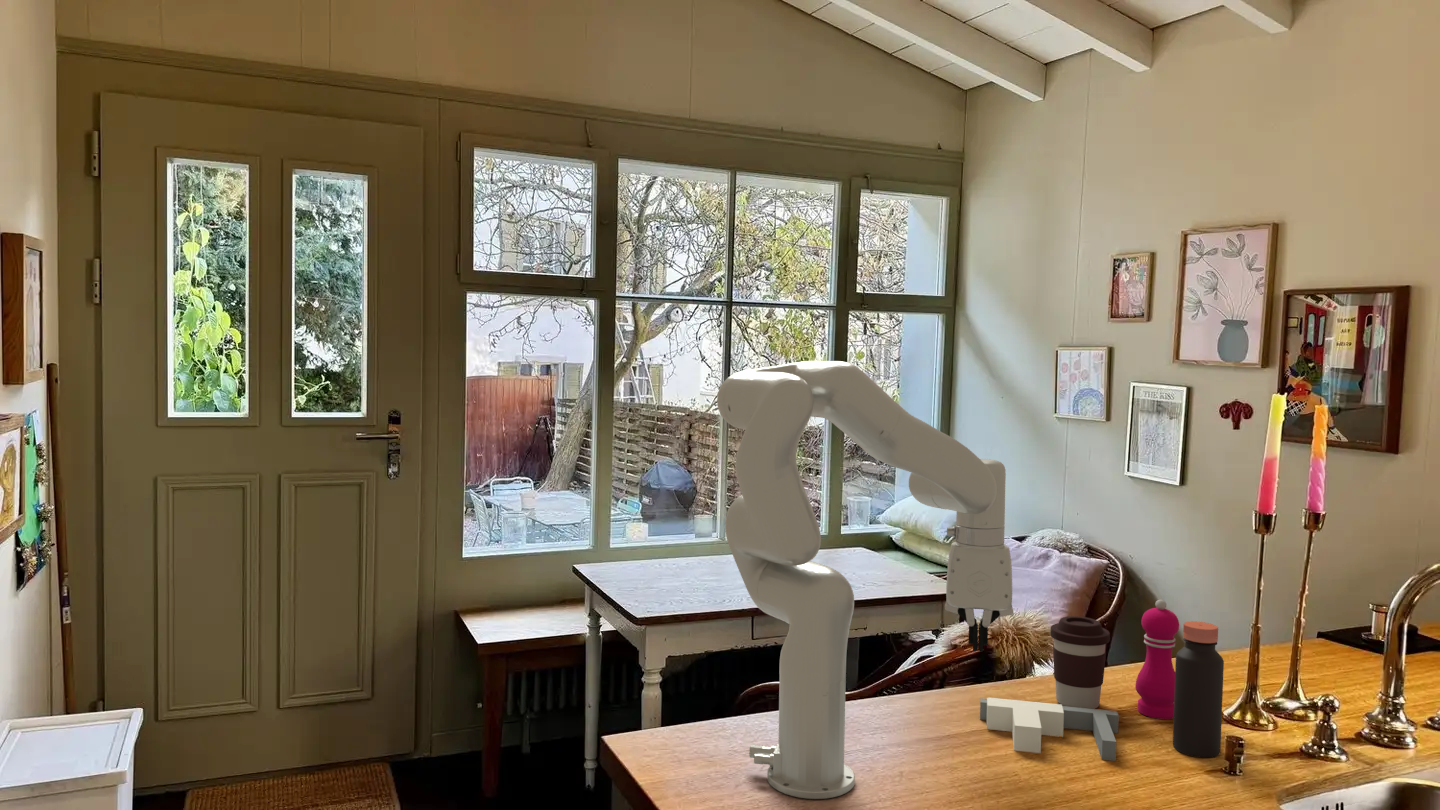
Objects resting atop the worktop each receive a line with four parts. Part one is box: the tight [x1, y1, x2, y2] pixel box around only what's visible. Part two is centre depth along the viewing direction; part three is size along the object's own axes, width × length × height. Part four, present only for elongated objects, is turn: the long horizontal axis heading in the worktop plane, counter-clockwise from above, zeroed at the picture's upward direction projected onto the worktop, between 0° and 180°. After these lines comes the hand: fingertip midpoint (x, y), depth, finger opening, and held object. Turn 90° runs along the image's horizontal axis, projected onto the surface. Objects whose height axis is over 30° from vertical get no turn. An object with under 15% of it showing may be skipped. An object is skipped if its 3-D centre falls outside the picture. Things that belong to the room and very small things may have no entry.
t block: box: [986, 697, 1064, 754], centre depth 159 cm, size 12×12×4 cm
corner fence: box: [979, 697, 1120, 762], centre depth 159 cm, size 22×14×3 cm, turn 76°
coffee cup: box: [1049, 615, 1111, 709], centre depth 175 cm, size 10×10×15 cm
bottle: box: [1172, 620, 1225, 759], centre depth 154 cm, size 7×7×20 cm
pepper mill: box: [1135, 599, 1180, 720], centre depth 170 cm, size 7×7×20 cm
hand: (977, 648), depth 158 cm, fingers closed
